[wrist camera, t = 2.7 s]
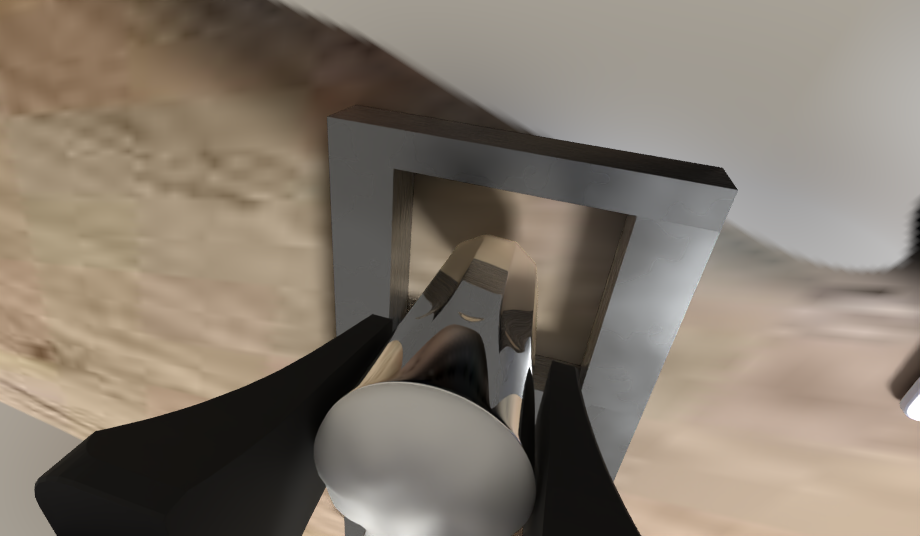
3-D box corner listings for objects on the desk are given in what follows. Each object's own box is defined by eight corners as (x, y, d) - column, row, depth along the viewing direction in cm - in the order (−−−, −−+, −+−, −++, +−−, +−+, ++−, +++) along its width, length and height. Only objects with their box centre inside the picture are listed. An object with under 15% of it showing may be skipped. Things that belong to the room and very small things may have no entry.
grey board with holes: (722, 167, 14) (740, 193, 12) (551, 597, 28) (546, 642, 26) (356, 104, 16) (322, 118, 14) (361, 531, 30) (343, 568, 28)
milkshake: (400, 302, 18) (230, 575, 9) (466, 189, 15) (306, 437, 7) (502, 362, 18) (425, 680, 10) (586, 262, 15) (580, 592, 7)
